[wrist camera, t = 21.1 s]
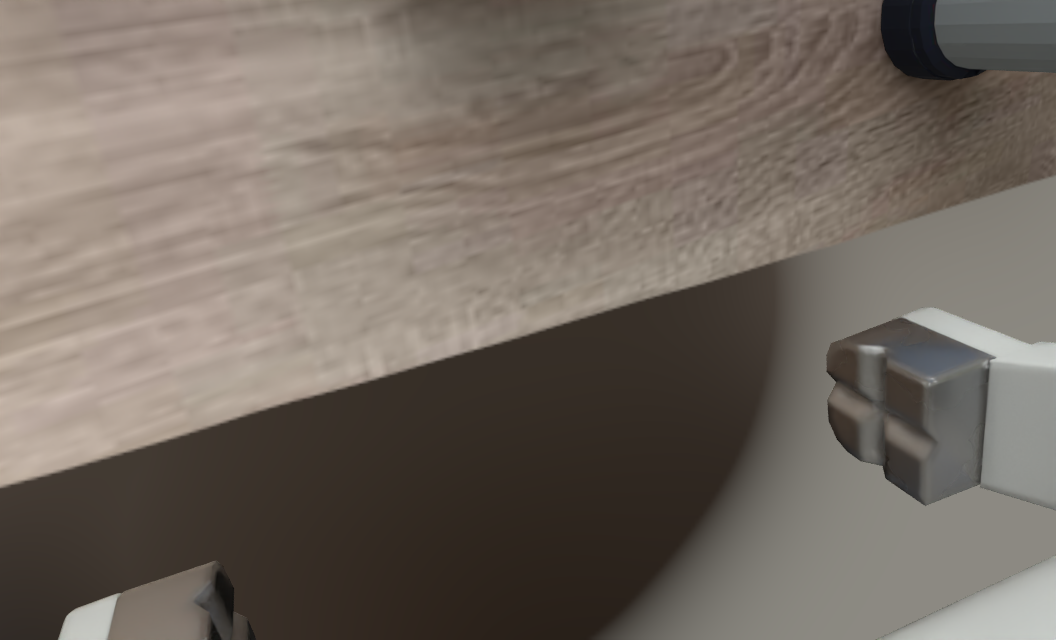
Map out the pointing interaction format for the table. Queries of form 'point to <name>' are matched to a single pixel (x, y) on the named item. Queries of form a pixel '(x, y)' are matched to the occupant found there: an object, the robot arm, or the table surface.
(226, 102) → the table surface
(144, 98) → the table surface
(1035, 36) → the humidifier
